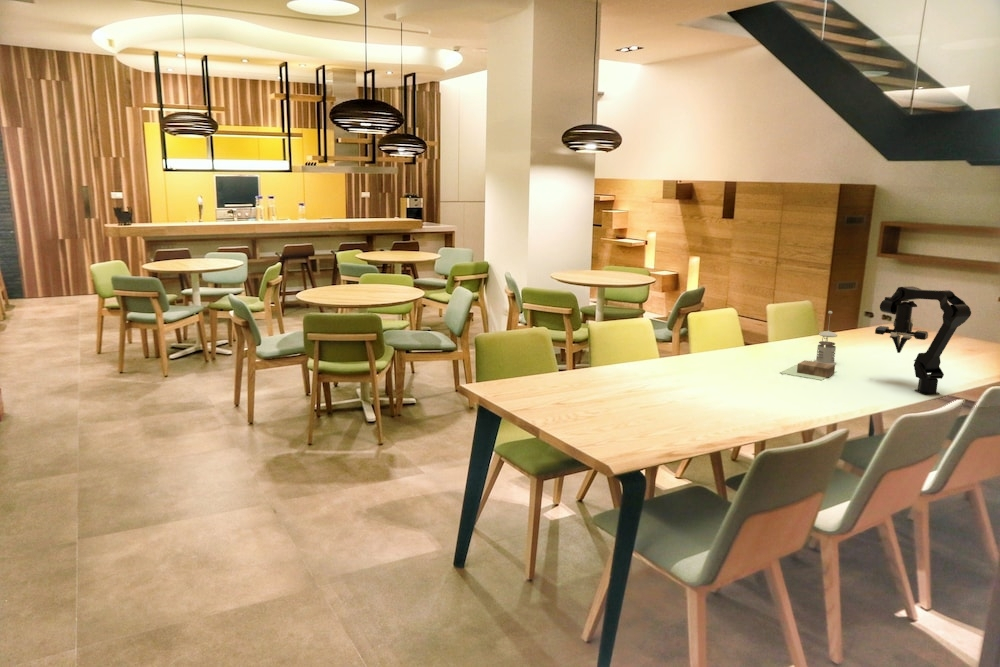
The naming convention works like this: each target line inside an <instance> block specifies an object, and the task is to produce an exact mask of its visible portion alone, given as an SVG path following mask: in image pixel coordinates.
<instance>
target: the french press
mask: <svg viewBox="0 0 1000 667" xmlns="http://www.w3.org/2000/svg"><path fill="white" fill-rule="evenodd" d="M827 314H829V317H828V323H830V320H831V319H830V318H831V315H832V314H833V311H832V310H829V311H828V312H827ZM827 329H828V330H826V331H825V330H823V331H821V332H819V333H818V335H819V336H820V337H822V338H821V341H819V342H818V344H817V349H816V350H817V351H816V359H815V360H813V362H819V363H825V364H831V365H835V366H836V365H837V363H836V362H835V357H836V348H837V347H836V346H835V345H836V343H835V342H833V341H828V340H829V339H828V338H837V337H838V334H837V333H836V332H833V331H830V325H828V327H827Z"/></svg>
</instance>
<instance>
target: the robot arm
mask: <svg viewBox="0 0 1000 667" xmlns="http://www.w3.org/2000/svg"><path fill="white" fill-rule="evenodd" d="M915 300H933V301H938V302H939V307H940V309H941V311H942V312H943V314H942V324H941V326H940V328H939V329H938V331H937V333H936V334H935V336H934V337H933V340H932V342H931V343H930V345H929V347H928V349H926V351H925V352H919V353H918V354H917V356H916V358H915V359H914V360H913V362H914V363H913V367H914V368H913V369H914V373H915V374H914V375H915V378H918V384H917V389H914V392H916V393H917V392H918V393H919V394H923V395H925V396H927V395H928V396H930V395H940V392H938V391H937V390H938V384H939V383H938V382H939V379H943V377H944V375H945V374H944V372H943V371H942V369H941V367H940V366H941V356H942V354H943V352H944V351H945V349H946V347H947V345H948V344H949V342H950V340H951V339H952V337H953V335H954V333H955V332H956V330H957V328H958V327H960V326H962V325H964V324H965V323H966V321H968V319H969V318H970V317H971V315H972V311H971V308H970V306H969V305H967V304H966V302H965V301H964V300H962V298H960V297H958V296H956V294H955V293H954V292H953V290H952V291H951V290H945V289H944V290H940V289H939V290H936V289H934V290H932V289H921V288H919V287H916V286H898V287H897V288H896V290H895V292H894V293H893V294H892V296H885V297H884V300H882V301H881V303H880V304H879V310H880V311H881V312H882V313H886V314H889V315H895V317H894V320H893V328H892V329H891V328H890V327H889V326H884V325H879V326H876V327H875V332H874V334H876V335H882V336H883V335H885V334H890V335H889V338H890V339H892V341H893V343H894V345H895V348H896V349H895V350H896V353H898V354H900V353H901V352H902V349H903V348H904V346H905V345H906V343H907V341H909V340H911V339H912V338H914V339H916V340H921V341H925V340H927V339H928V338H929V332H928V331H925V330H916V331H912V330H913V323H912V314H913V308H917V307H918V305H917V303H915ZM949 303H950V304H949ZM901 336H902V337H901Z"/></svg>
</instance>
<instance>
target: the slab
mask: <svg viewBox="0 0 1000 667" xmlns="http://www.w3.org/2000/svg"><path fill="white" fill-rule="evenodd" d="M797 365H798V366H797V373H803V374H809V375H815V376H821V377H826V378H825V379H828V378H830V377H831V376H833V375H835V373H834V371H836V370H835V368H836V365H831V364H825V363H819V362H814V361H812V360H802V361H801V362H798V363H797Z"/></svg>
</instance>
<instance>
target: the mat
mask: <svg viewBox="0 0 1000 667" xmlns="http://www.w3.org/2000/svg"><path fill="white" fill-rule="evenodd" d="M797 366H798V364H794V365H792V366H790V367H788V368H786V369H784V370H782V371H780V372H779V374H783V375H787V376H794V377H800V378H806V379H811V380H817V381H823V380H825V379H827V378H826V377H821V376H815V375H809V374H803V373H797ZM835 373H837V371H836V370H834V374H835Z"/></svg>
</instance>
